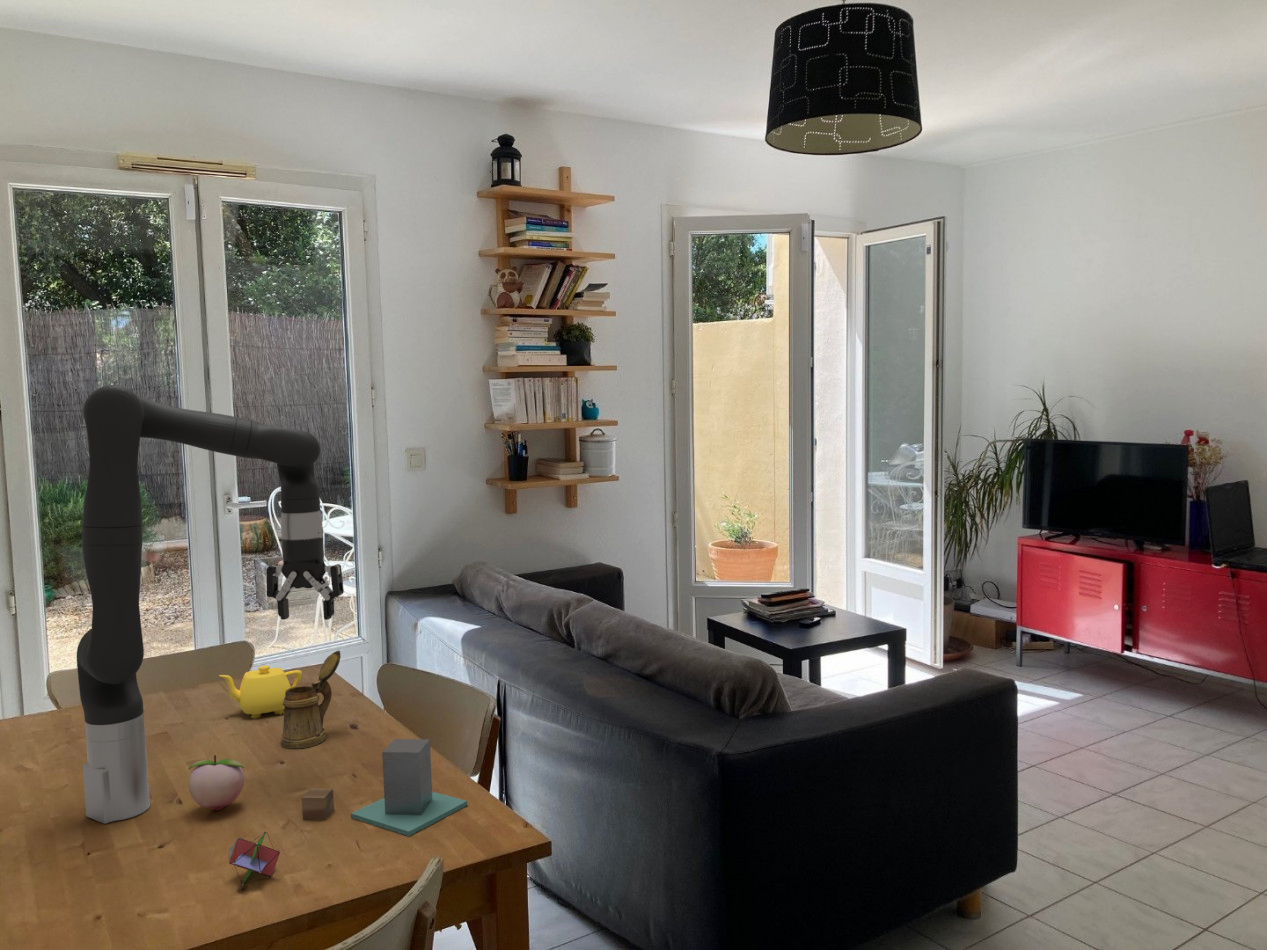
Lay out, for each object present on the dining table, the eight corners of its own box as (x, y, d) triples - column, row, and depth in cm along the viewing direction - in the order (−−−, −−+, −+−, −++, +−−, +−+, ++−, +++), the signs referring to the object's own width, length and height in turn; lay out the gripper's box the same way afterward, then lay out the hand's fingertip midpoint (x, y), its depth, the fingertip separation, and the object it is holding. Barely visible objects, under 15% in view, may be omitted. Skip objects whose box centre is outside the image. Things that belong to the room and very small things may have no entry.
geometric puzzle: (297, 852, 155) (263, 813, 154) (283, 873, 148) (247, 833, 147) (261, 880, 155) (227, 842, 154) (245, 903, 148) (210, 862, 147)
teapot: (223, 725, 221) (220, 678, 220) (219, 711, 231) (216, 666, 230) (307, 712, 229) (305, 667, 228) (300, 699, 239) (298, 655, 238)
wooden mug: (352, 736, 212) (348, 654, 211) (289, 752, 204) (284, 666, 202) (336, 726, 219) (332, 646, 218) (274, 740, 211) (270, 657, 209)
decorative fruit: (185, 824, 171) (181, 767, 170) (193, 805, 179) (189, 751, 178) (243, 816, 173) (240, 760, 172) (248, 798, 181) (245, 744, 180)
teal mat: (409, 836, 164) (408, 831, 164) (351, 817, 172) (350, 813, 172) (467, 805, 176) (467, 801, 176) (410, 789, 183) (410, 785, 183)
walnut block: (325, 820, 171) (324, 798, 171) (302, 820, 171) (301, 797, 171) (334, 810, 175) (333, 788, 175) (312, 810, 175) (311, 788, 175)
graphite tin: (421, 815, 170) (418, 752, 169) (385, 814, 171) (382, 752, 170) (432, 799, 177) (429, 739, 176) (397, 799, 177) (394, 738, 176)
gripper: (257, 538, 186) (261, 623, 188) (330, 537, 185) (335, 623, 186) (275, 532, 194) (279, 614, 195) (345, 531, 192) (350, 614, 194)
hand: (306, 618), depth 191 cm, fingers open, 8 cm apart
